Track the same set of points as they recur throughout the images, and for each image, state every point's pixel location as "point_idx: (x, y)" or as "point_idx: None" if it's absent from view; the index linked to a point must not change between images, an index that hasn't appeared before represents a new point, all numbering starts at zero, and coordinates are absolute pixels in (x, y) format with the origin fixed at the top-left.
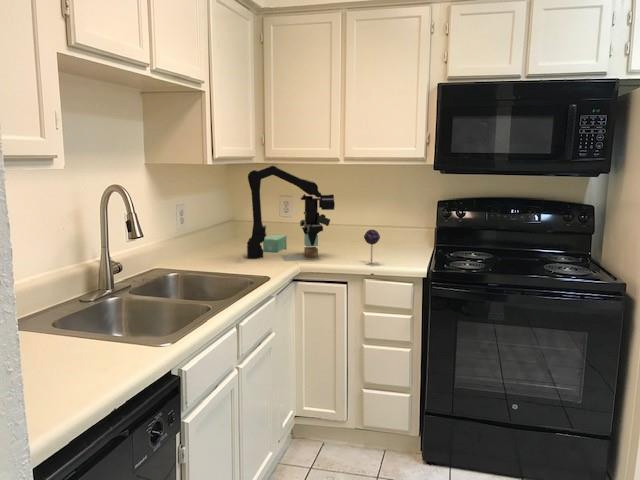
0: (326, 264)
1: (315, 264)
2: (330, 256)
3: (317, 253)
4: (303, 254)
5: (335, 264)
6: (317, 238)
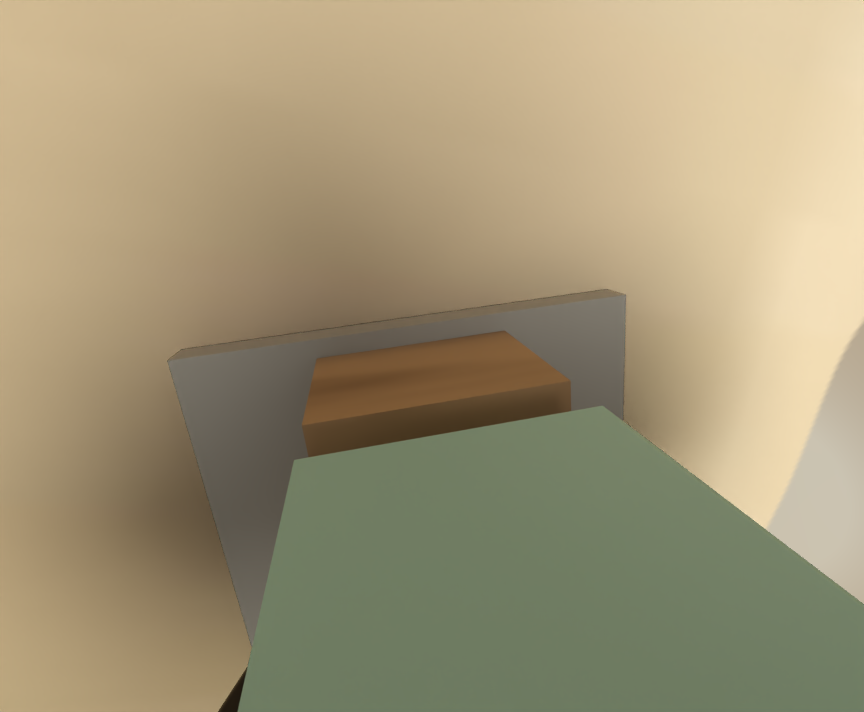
0: (807, 240)
1: (758, 384)
2: (224, 33)
3: (528, 357)
4: (227, 535)
5: (854, 103)
6: (784, 567)
